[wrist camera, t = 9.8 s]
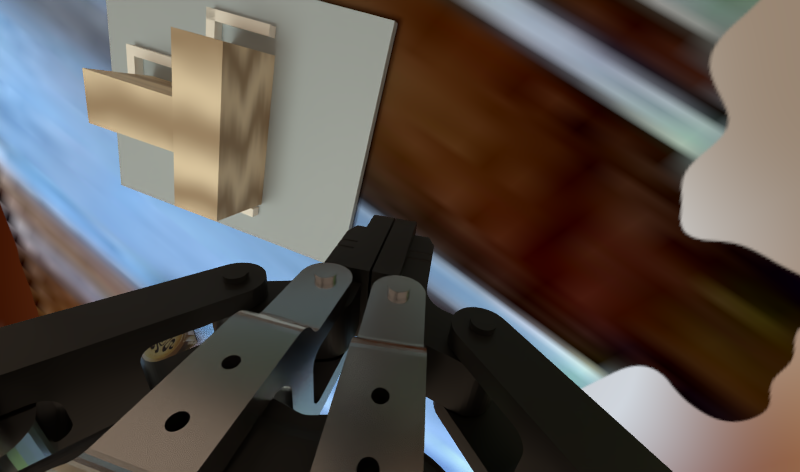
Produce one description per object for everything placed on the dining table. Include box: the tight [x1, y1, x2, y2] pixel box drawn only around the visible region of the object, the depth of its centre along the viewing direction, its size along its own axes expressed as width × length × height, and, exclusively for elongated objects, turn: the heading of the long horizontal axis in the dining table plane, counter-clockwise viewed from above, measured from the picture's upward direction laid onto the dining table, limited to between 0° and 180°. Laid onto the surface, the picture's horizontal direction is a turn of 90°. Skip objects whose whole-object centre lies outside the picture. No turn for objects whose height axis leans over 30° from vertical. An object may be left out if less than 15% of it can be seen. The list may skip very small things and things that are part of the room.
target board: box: [106, 0, 398, 263], centre depth 36 cm, size 26×32×2 cm
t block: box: [82, 27, 275, 221], centre depth 34 cm, size 16×15×7 cm
